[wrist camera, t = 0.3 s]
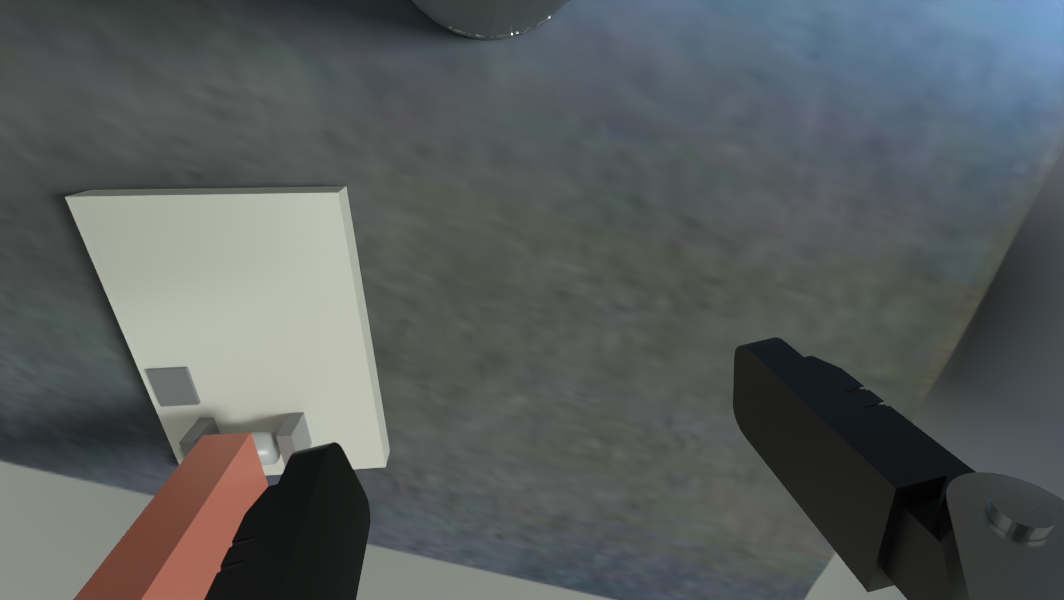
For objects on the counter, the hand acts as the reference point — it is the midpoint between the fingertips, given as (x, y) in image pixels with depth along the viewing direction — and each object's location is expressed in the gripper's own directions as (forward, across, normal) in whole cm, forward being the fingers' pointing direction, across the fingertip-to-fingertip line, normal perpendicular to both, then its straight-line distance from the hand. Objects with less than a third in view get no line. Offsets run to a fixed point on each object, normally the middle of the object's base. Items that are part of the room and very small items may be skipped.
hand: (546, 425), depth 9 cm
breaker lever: (+15, +16, +10) cm, 24 cm away
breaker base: (+18, +14, +5) cm, 23 cm away
